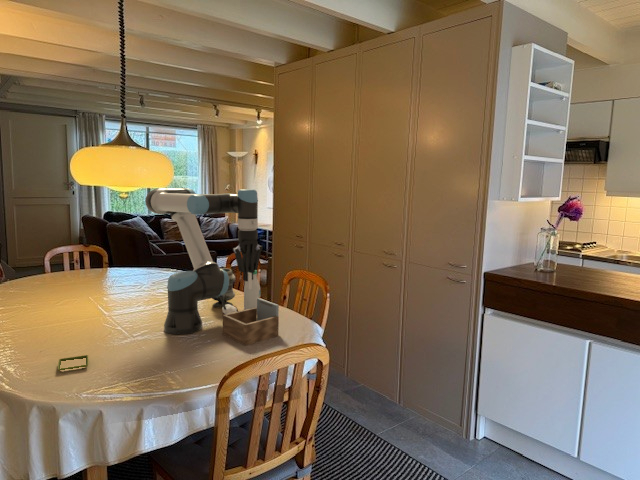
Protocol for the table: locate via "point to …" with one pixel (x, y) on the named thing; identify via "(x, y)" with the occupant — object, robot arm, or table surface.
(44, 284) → the table surface
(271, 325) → the crate
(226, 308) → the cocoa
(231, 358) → the table surface
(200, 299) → the robot arm
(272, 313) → the panel
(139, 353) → the table surface
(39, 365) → the table surface
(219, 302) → the apothecary jar
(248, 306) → the milk bottle
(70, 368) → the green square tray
